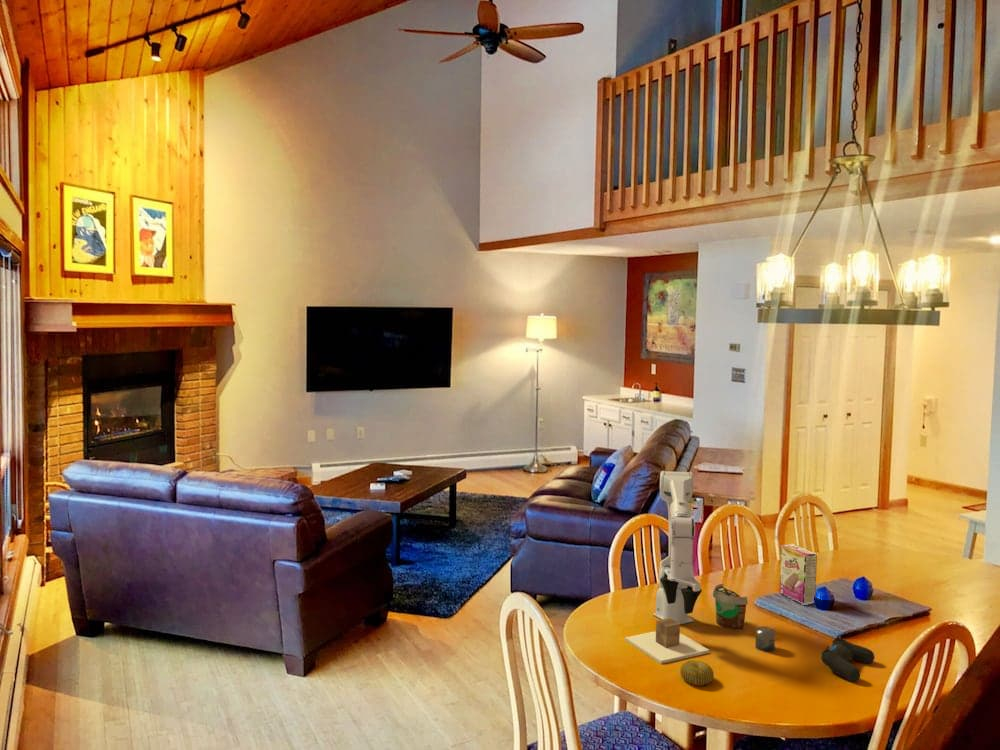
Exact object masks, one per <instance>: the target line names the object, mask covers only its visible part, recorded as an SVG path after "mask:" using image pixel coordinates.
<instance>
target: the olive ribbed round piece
mask: <svg viewBox="0 0 1000 750" xmlns="http://www.w3.org/2000/svg"><path fill="white" fill-rule="evenodd" d="M679 673H680V676H681V678H682V679H683V681H686V682H687V683H688V684H691V685H695V686H705V685H708V684H709V683H711V682H712V681H713V678H714V670H713V668H712V667H711V666H710V665H709V664H708V663H706V662H704V661H700V660H688V661H685V662H684V663H683V664H682V665H681V666H680V672H679Z"/></svg>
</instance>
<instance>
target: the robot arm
mask: <svg viewBox="0 0 1000 750" xmlns="http://www.w3.org/2000/svg"><path fill="white" fill-rule="evenodd" d="M694 476H695V475H694V473H693V472H692V471H667V470H665V471H664V470H661V471H660V473H659V494H660V499H661V501H664V502H666V505H667V512H668V515H667V516H668V555H667V556H666V557H665V558H664V559H662V560H660V563H659V571H658V586H659V588H658V589H657V590H656V595H655V612H653V616H655V617H656V618H658V619H659V620H662V619H666V618H671V619H672V620H674V621H676V622H678V623H679V624H680V625H684V624H689V623H692V622H693V623H694V621H695V620H694V619H693V618H692V617H689V616H688V615H689V614H693V611H694V608H695V605H696V602H697V600H698V598H699V597H700V595H701V594H702V591H703V589H702V588H701V586H702V583H700V582H698V580H696V579H695V576H694V575H695V574H694V565H693V545H694V544H693V542H694V541H693V539H694V538H695V536H696V522H695V517H694V516H693V515H692V508H691V504H690V503H689V502H690V501H692V497H693V491H694V489H695V488H694V486H695V485H694V484H695V480H694V479H695V478H694Z"/></svg>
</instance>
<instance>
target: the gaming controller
mask: <svg viewBox="0 0 1000 750" xmlns="http://www.w3.org/2000/svg"><path fill="white" fill-rule="evenodd" d="M840 636H841V635H840V634H838V635H837V636H836V637H835V638H834V639H833V640H832V645H831V647H830V645H827V647H826V648H824V650H823V651H822V652H821V655H820V659H821V661H822V663H823V664H824V665H825V666H827V667H828V668H829V669H830V670H831V671H832V672H834V673H836V674H837V675H839V676H841V677H843V678H844V679H846V680H847V681H850V682H853V683H854V682H856V681H859V680H860V678H861V670H860V669H859V668H858V667H856V666H855V665H854V664H852V663H850V662H851V660H855V661H857V662H860V663H864V664H871V663H873V662H874V661H875V654H874V652H873V651H872V650H871V649H869V648H867V647H864V646H861V645H858V644H855V643H851V642H849V641H847V640H845V639H844V638H840Z"/></svg>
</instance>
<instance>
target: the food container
mask: <svg viewBox="0 0 1000 750" xmlns="http://www.w3.org/2000/svg"><path fill="white" fill-rule="evenodd" d="M712 597H713V598H714V600H715V604H714V605H715V620H716V621H715V623H716V624H717V625H718V626H720V627H722V628H724V629H728V630H737V631H738V630H739V631H740V630H741V631H742V630H744V628H745V619H746V610H747V609H746V608H747V605H748V604H749V603H748V602H749V600H748V597H747V596H740V595H739V594H738V593H737V592H736V591H733V590H730V589H727V588H725V587H724V583H719V584H717V585H716V586H715V587H714V588H713V591H712Z"/></svg>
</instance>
